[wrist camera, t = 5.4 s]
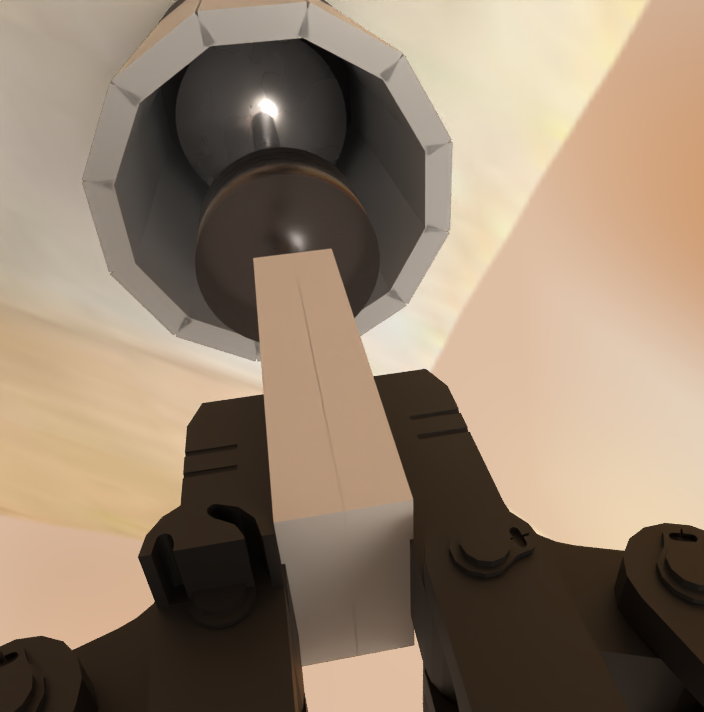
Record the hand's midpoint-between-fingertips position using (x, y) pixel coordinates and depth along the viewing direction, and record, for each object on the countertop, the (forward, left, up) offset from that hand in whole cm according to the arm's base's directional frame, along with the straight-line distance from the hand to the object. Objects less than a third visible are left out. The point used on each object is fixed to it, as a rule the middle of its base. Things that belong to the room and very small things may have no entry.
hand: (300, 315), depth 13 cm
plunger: (0, 0, -18) cm, 18 cm away
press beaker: (+2, 0, -22) cm, 22 cm away
